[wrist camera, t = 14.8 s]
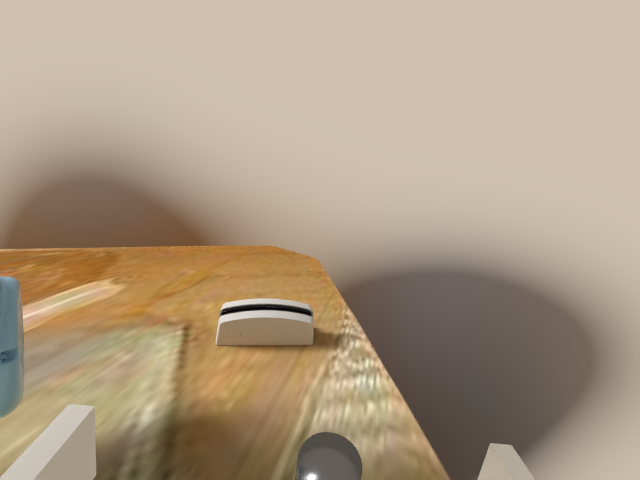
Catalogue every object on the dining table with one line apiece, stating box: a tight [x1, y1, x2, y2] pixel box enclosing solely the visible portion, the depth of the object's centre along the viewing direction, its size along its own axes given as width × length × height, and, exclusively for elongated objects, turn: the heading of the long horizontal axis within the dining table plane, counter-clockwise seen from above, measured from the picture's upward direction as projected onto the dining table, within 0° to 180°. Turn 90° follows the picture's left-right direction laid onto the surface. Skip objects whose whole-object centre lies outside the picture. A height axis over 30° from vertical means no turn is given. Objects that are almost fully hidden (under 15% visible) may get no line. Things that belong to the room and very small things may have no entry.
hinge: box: [216, 299, 314, 346], centre depth 55 cm, size 17×5×10 cm, turn 98°
